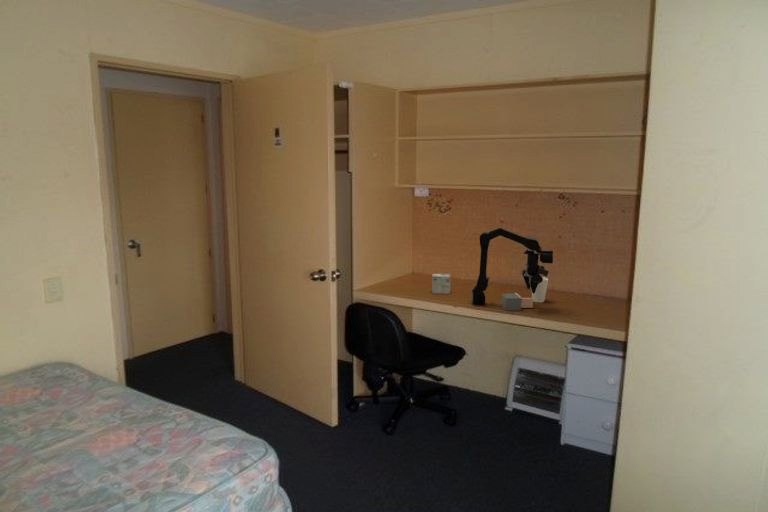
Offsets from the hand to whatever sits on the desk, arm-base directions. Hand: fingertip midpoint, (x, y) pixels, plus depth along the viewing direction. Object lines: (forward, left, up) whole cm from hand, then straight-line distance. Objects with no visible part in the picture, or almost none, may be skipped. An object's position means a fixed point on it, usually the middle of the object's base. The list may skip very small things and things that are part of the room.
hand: (531, 291), depth 292 cm
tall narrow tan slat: (-4, 0, -9) cm, 10 cm away
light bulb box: (-43, +35, -9) cm, 57 cm away
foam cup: (+9, +14, -9) cm, 19 cm away
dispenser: (-10, 0, -9) cm, 14 cm away
